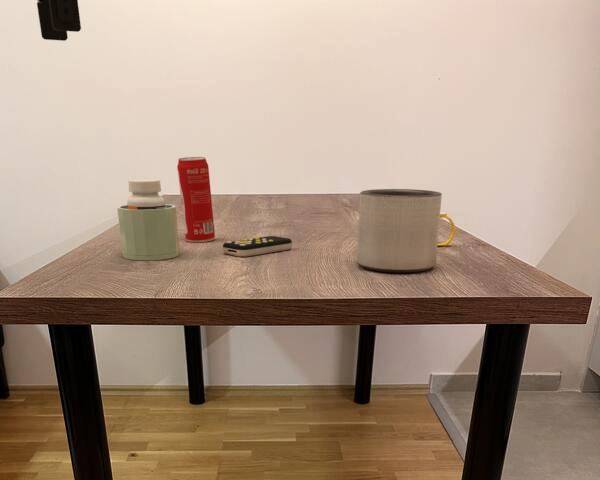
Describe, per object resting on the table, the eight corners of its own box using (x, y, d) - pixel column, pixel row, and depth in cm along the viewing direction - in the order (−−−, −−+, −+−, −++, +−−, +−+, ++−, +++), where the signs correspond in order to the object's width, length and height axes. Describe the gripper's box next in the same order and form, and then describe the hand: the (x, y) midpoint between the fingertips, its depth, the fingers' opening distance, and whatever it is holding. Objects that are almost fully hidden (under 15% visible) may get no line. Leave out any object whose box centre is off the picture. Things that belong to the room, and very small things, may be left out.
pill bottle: (126, 253, 107) (117, 181, 102) (141, 247, 113) (134, 178, 108) (160, 254, 106) (153, 181, 101) (174, 248, 111) (168, 179, 107)
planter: (411, 257, 109) (416, 188, 104) (450, 271, 98) (459, 194, 93) (343, 262, 105) (346, 189, 100) (377, 277, 94) (382, 197, 89)
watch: (451, 245, 121) (455, 212, 118) (454, 247, 118) (457, 213, 116) (420, 244, 121) (422, 211, 119) (421, 247, 119) (424, 213, 116)
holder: (138, 262, 104) (133, 211, 100) (113, 254, 110) (107, 205, 107) (189, 256, 109) (185, 207, 106) (162, 249, 116) (158, 202, 112)
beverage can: (219, 238, 127) (215, 156, 120) (206, 244, 121) (201, 158, 114) (191, 237, 128) (186, 156, 122) (177, 242, 122) (171, 157, 116)
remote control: (295, 249, 116) (295, 237, 115) (242, 258, 108) (242, 245, 107) (272, 245, 120) (272, 234, 119) (219, 253, 112) (218, 241, 111)
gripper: (-5, -122, 78) (21, 41, 86) (8, -176, 64) (38, 24, 72) (59, -112, 81) (79, 44, 89) (84, -161, 67) (105, 29, 75)
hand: (60, 35), depth 80 cm, fingers open, 9 cm apart
